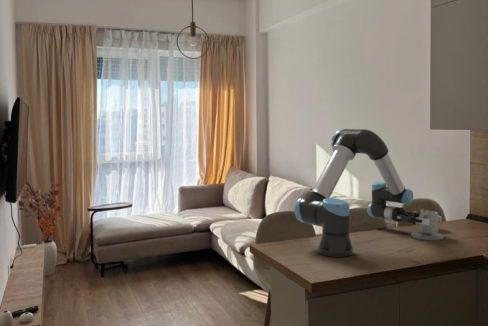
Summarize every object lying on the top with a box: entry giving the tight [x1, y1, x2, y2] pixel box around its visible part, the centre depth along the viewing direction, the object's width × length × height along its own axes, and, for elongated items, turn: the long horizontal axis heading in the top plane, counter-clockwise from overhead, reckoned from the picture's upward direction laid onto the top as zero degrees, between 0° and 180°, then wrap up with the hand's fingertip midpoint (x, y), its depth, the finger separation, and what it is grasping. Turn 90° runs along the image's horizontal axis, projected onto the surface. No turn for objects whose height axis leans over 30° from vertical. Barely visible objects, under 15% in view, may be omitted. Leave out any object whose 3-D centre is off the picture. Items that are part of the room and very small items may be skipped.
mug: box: [417, 208, 440, 233], centre depth 228 cm, size 8×12×12 cm, turn 112°
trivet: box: [410, 230, 444, 242], centre depth 229 cm, size 15×15×1 cm
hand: (435, 220), depth 225 cm, fingers closed on mug, 11 cm apart
